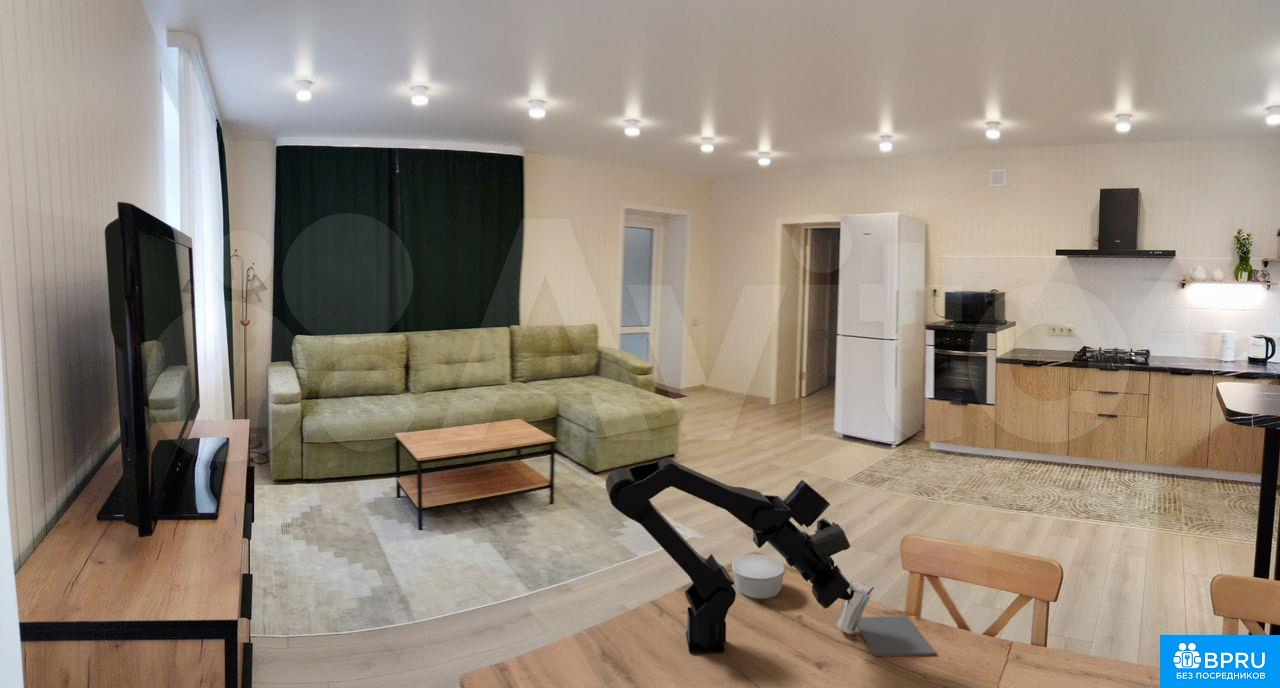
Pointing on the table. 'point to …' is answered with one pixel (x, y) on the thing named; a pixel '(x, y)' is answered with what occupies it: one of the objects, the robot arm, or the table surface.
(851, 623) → the milkshake
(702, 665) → the table surface
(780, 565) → the ramekin
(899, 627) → the mat
